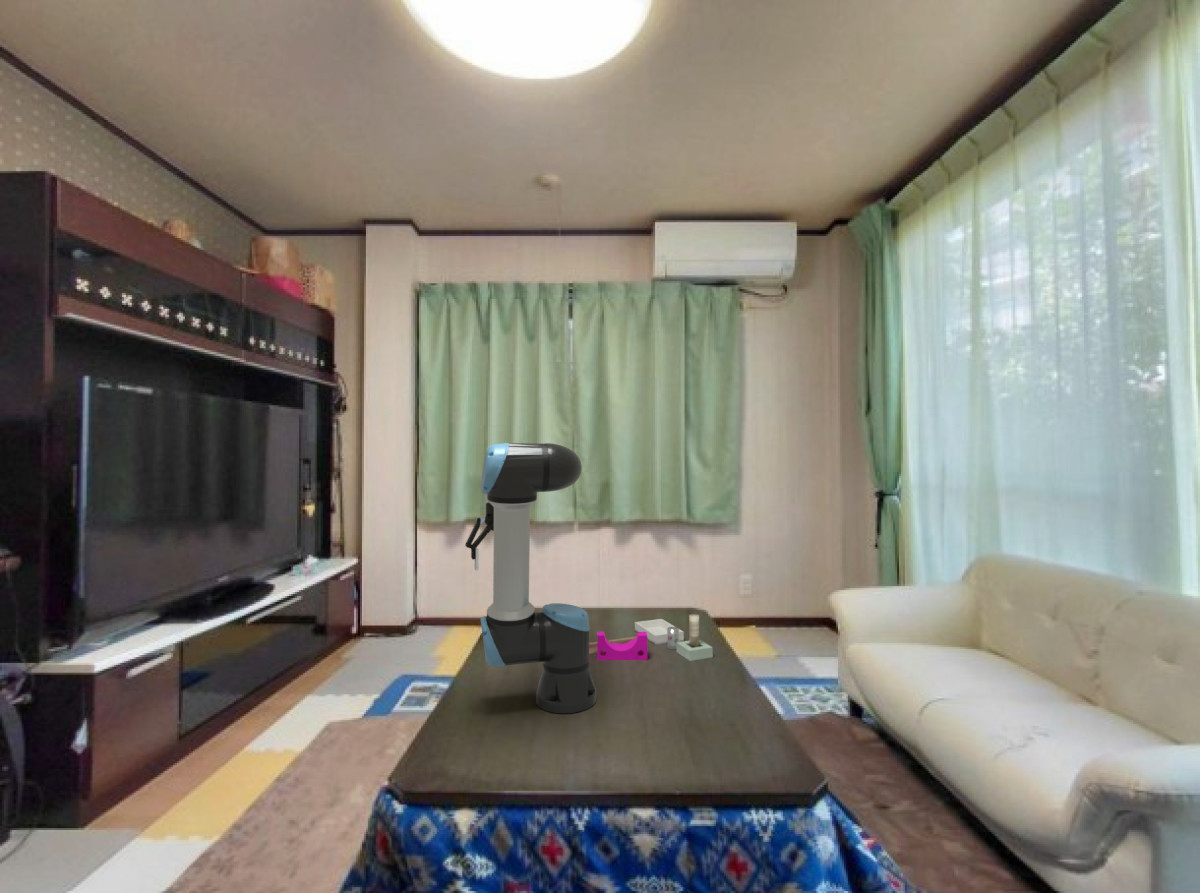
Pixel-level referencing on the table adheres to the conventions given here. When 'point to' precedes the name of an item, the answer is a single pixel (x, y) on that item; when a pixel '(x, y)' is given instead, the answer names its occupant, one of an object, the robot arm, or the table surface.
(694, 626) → the dowel
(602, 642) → the toy block
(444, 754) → the table surface
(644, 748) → the table surface
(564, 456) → the robot arm
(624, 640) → the brown wooden bar
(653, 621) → the tray
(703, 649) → the socket
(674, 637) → the cylinder
